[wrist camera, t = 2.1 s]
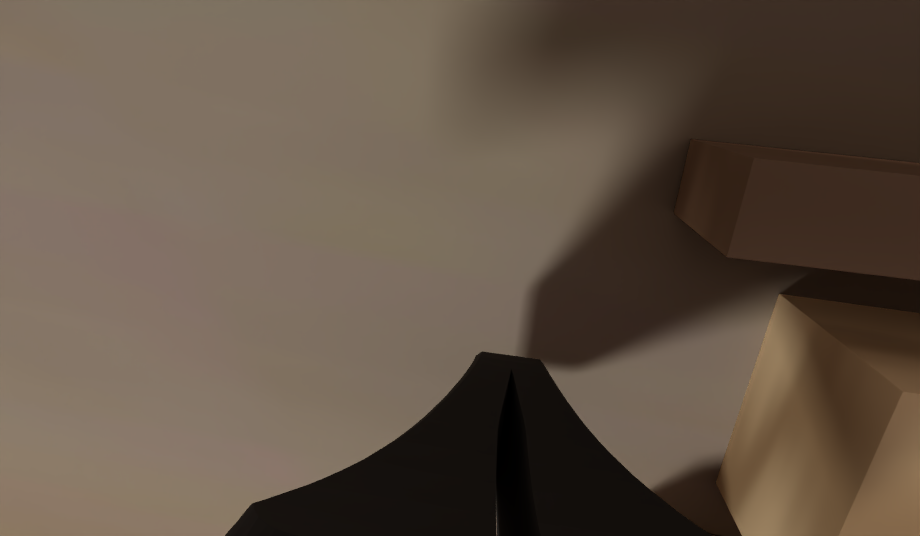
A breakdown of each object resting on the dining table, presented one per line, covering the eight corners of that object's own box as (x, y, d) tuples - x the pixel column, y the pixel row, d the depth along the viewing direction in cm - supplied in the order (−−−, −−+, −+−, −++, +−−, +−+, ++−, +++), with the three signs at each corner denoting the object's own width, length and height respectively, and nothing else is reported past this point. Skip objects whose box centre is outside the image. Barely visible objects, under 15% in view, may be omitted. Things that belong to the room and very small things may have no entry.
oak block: (926, 513, 13) (1098, 692, 9) (714, 479, 13) (792, 637, 9) (1022, 325, 11) (1282, 447, 7) (776, 291, 11) (902, 391, 8)
